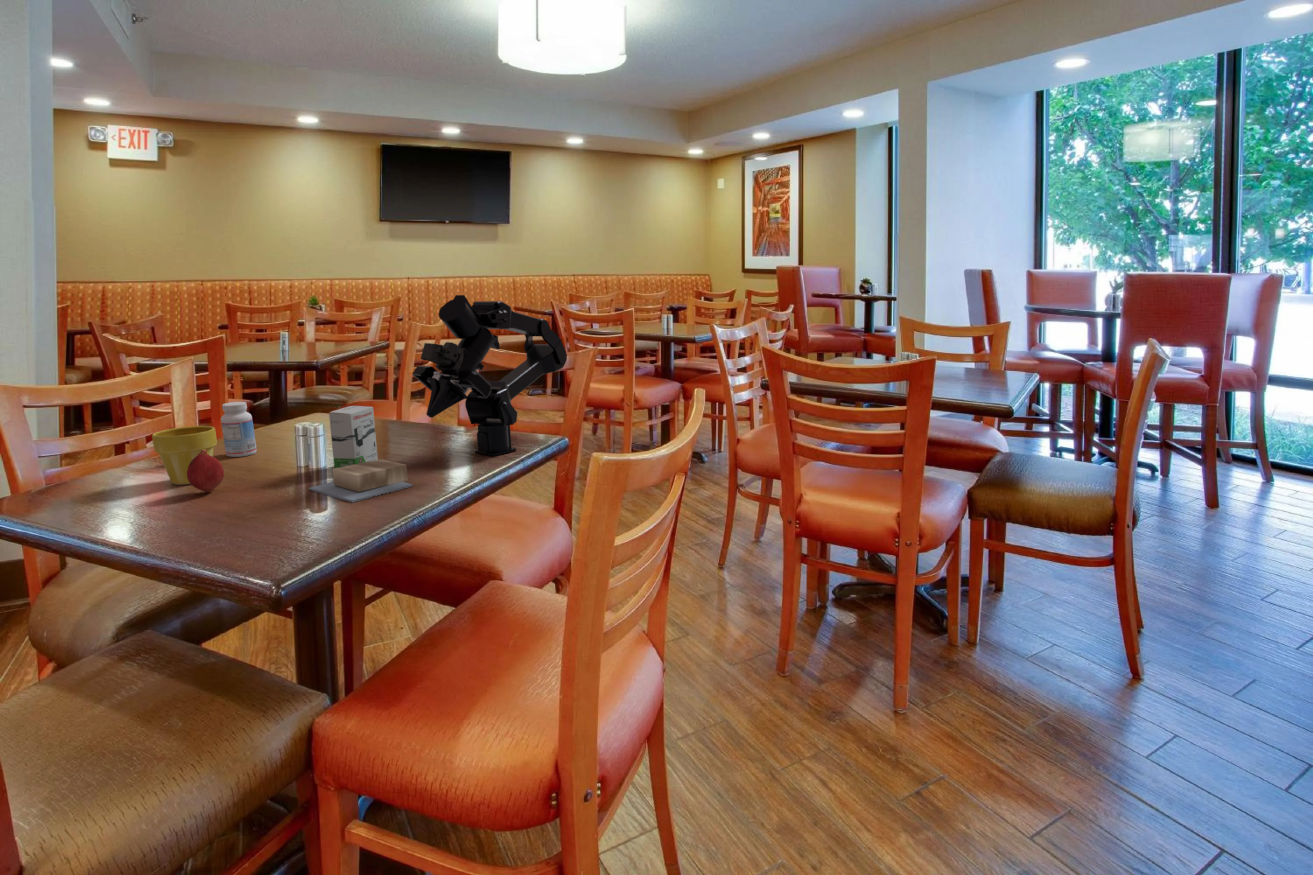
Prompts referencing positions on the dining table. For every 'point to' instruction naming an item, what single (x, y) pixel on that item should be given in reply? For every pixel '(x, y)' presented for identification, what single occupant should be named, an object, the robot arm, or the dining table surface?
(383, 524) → the dining table surface
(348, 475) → the maple slab
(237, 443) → the pill bottle
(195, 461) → the onion
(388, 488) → the rubber mat
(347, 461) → the ink box
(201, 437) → the plant pot
